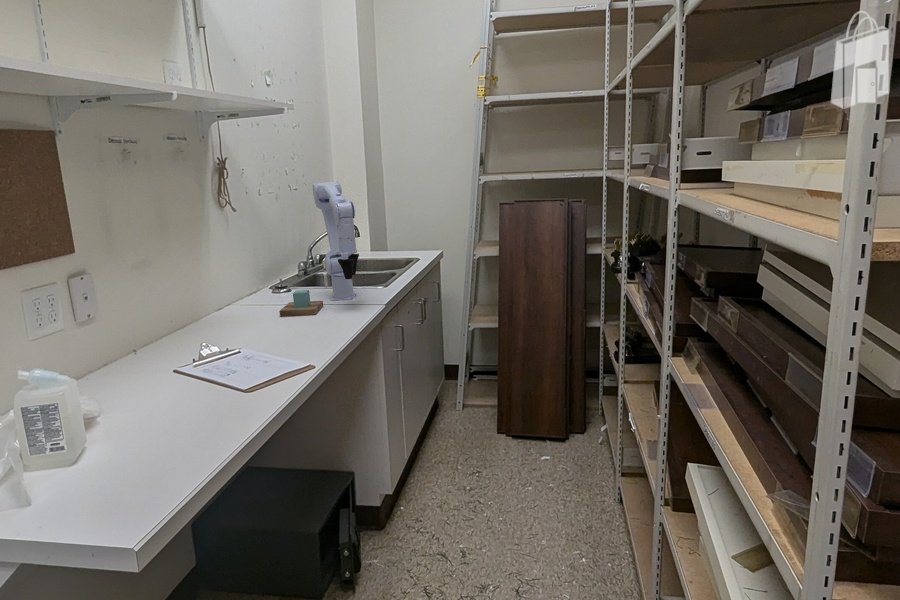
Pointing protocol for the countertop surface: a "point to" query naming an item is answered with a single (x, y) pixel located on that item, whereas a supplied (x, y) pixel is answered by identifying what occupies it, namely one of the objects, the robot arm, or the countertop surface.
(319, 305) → the walnut plinth
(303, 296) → the teal block
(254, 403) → the countertop surface
